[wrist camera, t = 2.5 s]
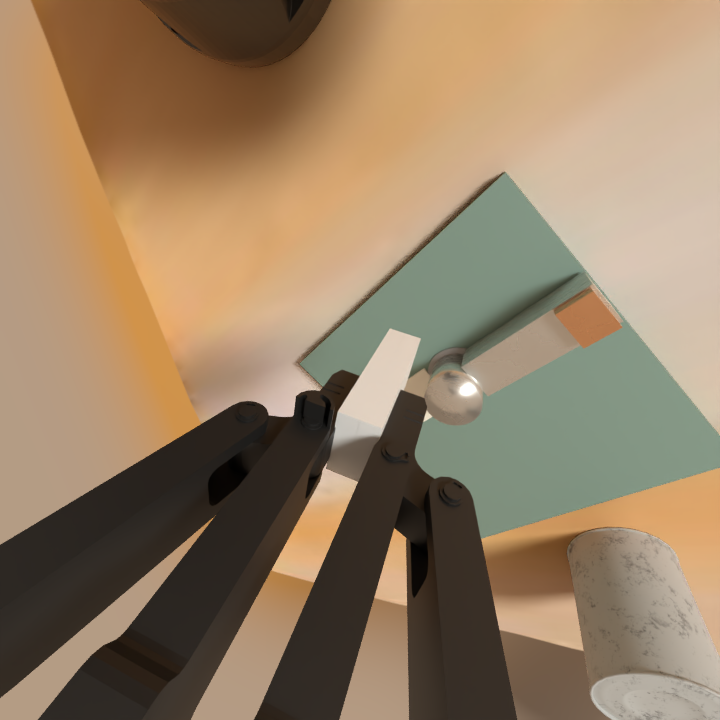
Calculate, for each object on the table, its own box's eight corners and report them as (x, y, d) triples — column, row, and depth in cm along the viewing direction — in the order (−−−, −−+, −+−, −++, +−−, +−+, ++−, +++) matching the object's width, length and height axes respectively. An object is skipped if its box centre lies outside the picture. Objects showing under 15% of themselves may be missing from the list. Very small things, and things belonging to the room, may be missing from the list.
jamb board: (304, 358, 38) (284, 379, 34) (505, 171, 24) (505, 175, 21) (478, 530, 42) (476, 564, 38) (731, 450, 28) (763, 492, 25)
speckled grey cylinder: (546, 546, 40) (561, 682, 30) (631, 513, 34) (686, 666, 24) (610, 597, 40) (646, 747, 30) (703, 573, 35) (786, 746, 25)
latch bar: (454, 405, 33) (448, 433, 30) (421, 371, 32) (412, 396, 29) (617, 311, 25) (635, 336, 22) (578, 264, 24) (590, 282, 21)
